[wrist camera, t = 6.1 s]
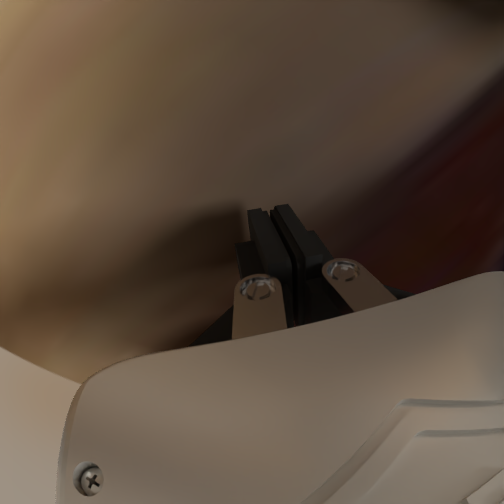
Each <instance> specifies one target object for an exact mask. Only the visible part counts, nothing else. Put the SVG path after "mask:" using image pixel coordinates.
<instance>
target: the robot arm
mask: <svg viewBox="0 0 504 504" xmlns="http://www.w3.org/2000/svg"><path fill="white" fill-rule="evenodd" d="M247 214H248V222H249V230H250V238H251V241H248V242H242V243H237V244H235V250H236V256H237V262H238V268H239V273H240V278H241V280H240V281H239V282H238V283H237V285H236V287H235V291H234V305H233V306H232V307H231V308H230V309H228V310H227V311H226V312H225V313H224V314H223V315H222V316H221V317H220V318H219V319H218V320H217V321H216V322H215V323H214V324H212V325H211V326H210V327H209V328H208V329H207V330H206V331H205V332H204V333H203V334H202V335H201V336H200V337H198V338H197V339H196V340H195V341H194V342H193V343H192V344H191V345H190V346H189V347H185V348H179V349H173V350H167V351H161V352H154V353H149V354H145V355H140V356H136V357H132V358H129V359H126V360H123V361H119V362H117V363H115V364H112V365H110V366H108V367H105V368H103V369H101V370H99V371H98V372H96V373H94V374H93V375H91V376H90V377H88V378H87V379H86V380H85V381H84V382H83V383H82V385H81V386H80V388H79V389H78V390H77V392H76V394H75V396H74V398H73V400H72V402H71V405H70V408H69V411H68V414H67V418H66V422H65V426H64V430H63V435H62V440H61V446H60V452H59V459H58V469H57V482H56V504H504V272H487V273H483V274H478V275H475V276H472V277H469V278H465V279H462V280H459V281H456V282H453V283H450V284H447V285H444V286H441V287H438V288H435V289H432V290H429V291H426V292H423V293H420V294H417V295H416V294H413V293H410V292H406V291H403V290H399V289H396V288H393V287H389V286H386V285H382V284H381V283H380V282H379V281H378V280H377V279H376V278H375V277H374V276H373V275H372V274H371V273H369V272H368V271H367V270H366V269H365V268H364V267H363V266H362V265H361V264H359V263H358V262H356V261H354V260H351V259H345V258H338V259H334V258H333V257H332V255H331V254H330V252H329V251H328V250H327V248H326V247H325V245H324V244H323V243H322V241H321V240H320V238H319V237H318V236H317V234H316V233H315V232H314V231H307V230H306V229H305V227H304V226H303V224H302V223H301V222H300V220H299V219H298V217H297V216H296V214H295V213H294V212H293V210H292V209H291V207H290V206H289V205H288V204H285V205H278V206H275V207H274V210H270V217H269V215H268V213H267V211H262V210H261V208H259V209H253V210H247ZM294 321H295V324H296V326H297V327H294Z"/></svg>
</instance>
